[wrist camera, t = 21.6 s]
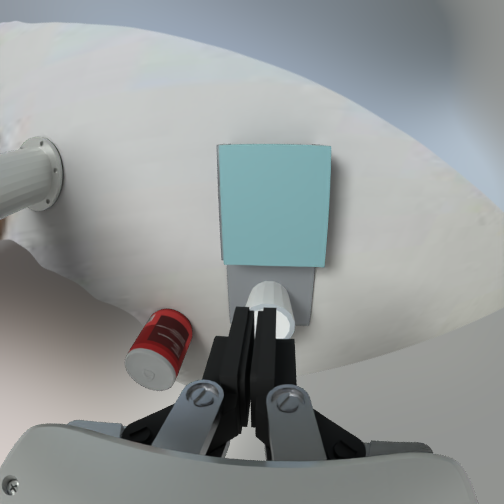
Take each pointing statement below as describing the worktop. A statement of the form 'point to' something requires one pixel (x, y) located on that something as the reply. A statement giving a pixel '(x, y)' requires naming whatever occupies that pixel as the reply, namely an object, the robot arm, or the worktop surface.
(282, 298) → the shot glass
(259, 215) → the panel
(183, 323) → the canned food
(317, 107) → the worktop surface
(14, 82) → the worktop surface
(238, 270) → the mat
